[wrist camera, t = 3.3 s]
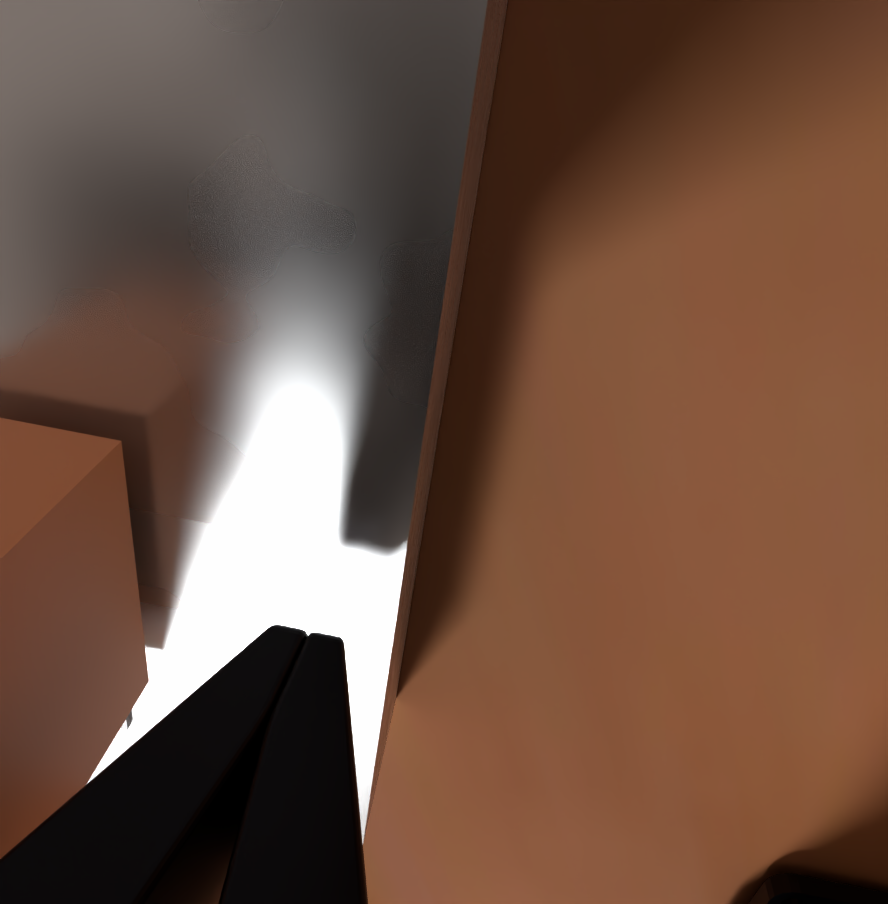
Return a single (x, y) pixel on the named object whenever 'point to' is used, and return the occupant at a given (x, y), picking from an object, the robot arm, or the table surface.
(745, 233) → the table surface
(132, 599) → the fader orange
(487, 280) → the table surface
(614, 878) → the table surface
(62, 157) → the grey slider board
